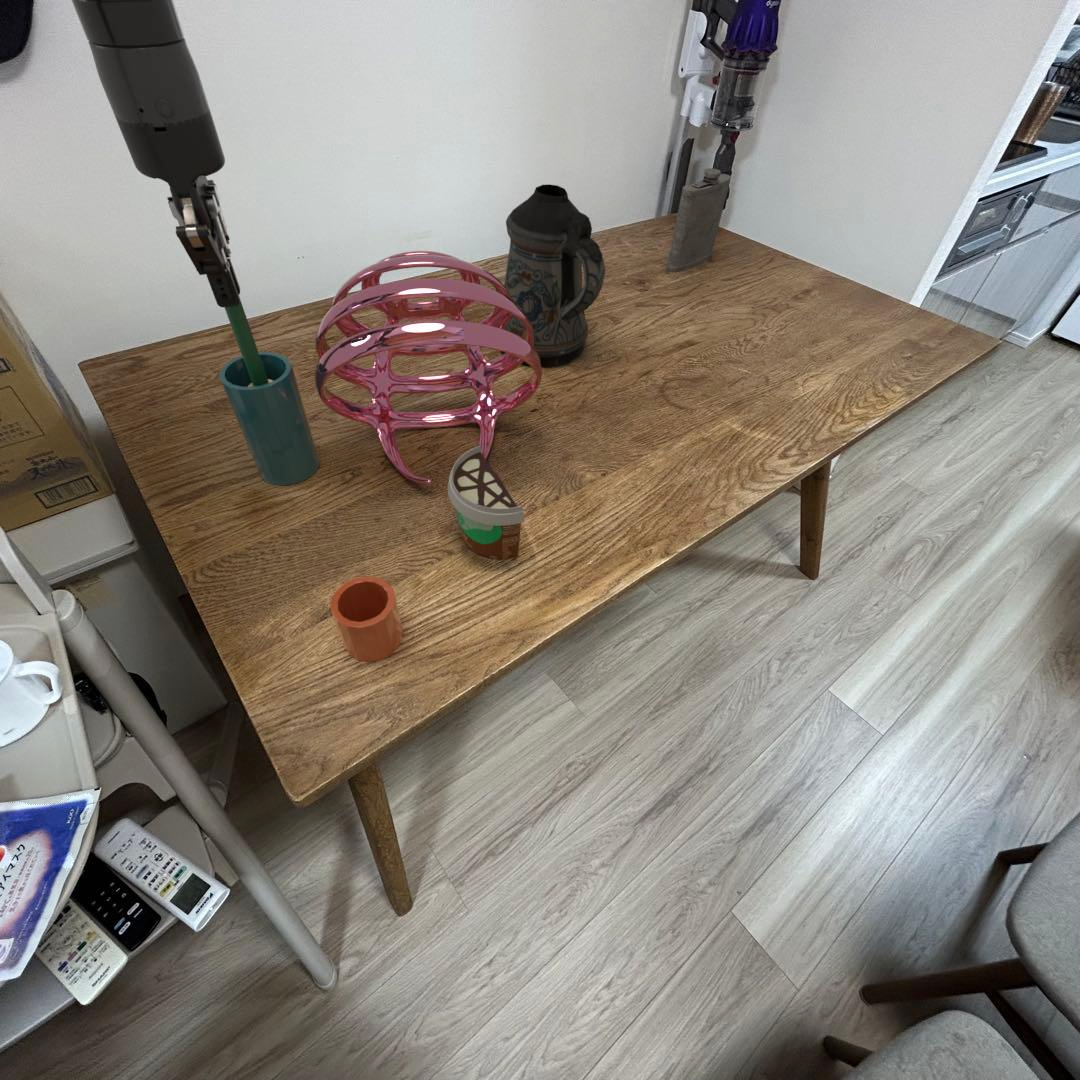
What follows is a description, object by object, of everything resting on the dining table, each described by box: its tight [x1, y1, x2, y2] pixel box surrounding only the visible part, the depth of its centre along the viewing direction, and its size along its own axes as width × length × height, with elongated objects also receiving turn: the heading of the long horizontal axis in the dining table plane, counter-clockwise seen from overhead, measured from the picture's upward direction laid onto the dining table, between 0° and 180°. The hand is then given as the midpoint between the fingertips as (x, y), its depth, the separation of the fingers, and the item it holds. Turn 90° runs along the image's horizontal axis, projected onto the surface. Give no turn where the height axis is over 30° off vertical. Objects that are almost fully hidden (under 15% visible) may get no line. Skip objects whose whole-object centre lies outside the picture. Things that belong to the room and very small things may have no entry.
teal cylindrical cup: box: [218, 351, 321, 486], centre depth 77 cm, size 8×8×15 cm
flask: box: [666, 167, 732, 273], centre depth 124 cm, size 4×14×18 cm, turn 134°
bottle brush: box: [223, 268, 273, 387], centre depth 69 cm, size 3×3×22 cm
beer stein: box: [499, 184, 606, 369], centre depth 96 cm, size 16×19×25 cm
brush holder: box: [330, 575, 404, 663], centre depth 62 cm, size 6×6×7 cm
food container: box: [447, 445, 525, 560], centre depth 71 cm, size 12×6×10 cm, turn 27°
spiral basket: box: [314, 250, 543, 486], centre depth 76 cm, size 28×28×27 cm
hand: (230, 299), depth 65 cm, fingers closed on bottle brush, 2 cm apart
